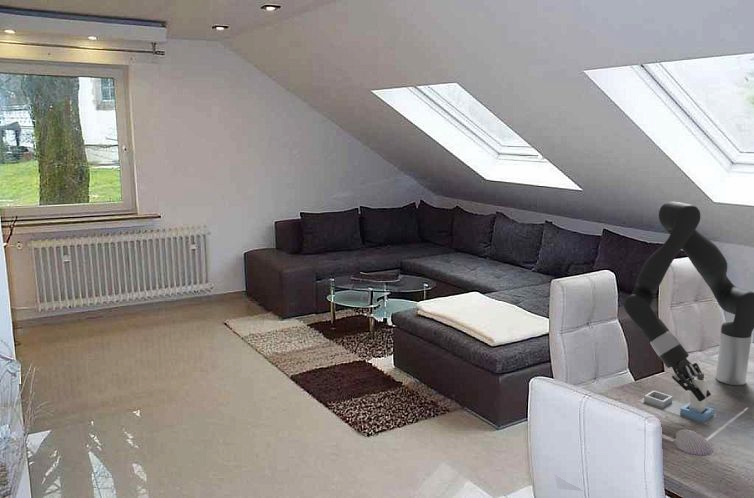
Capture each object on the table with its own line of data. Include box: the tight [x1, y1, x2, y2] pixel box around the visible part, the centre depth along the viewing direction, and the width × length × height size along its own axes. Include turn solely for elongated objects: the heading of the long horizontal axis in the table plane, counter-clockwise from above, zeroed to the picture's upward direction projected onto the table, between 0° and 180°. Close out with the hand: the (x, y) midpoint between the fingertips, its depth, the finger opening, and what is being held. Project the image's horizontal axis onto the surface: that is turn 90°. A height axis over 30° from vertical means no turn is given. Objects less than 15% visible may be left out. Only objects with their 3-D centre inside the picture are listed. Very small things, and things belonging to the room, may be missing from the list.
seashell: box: [673, 428, 714, 456], centre depth 173 cm, size 10×6×10 cm
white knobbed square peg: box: [689, 372, 709, 413], centre depth 188 cm, size 3×3×12 cm
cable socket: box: [637, 390, 719, 425], centre depth 194 cm, size 21×9×4 cm, turn 41°
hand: (705, 397), depth 187 cm, fingers closed on white knobbed square peg, 3 cm apart
